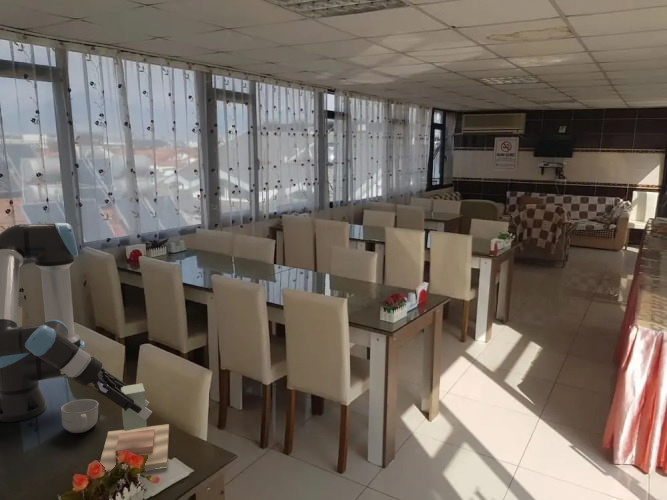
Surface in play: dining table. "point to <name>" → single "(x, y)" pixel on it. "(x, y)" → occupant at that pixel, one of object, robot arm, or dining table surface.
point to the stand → (138, 445)
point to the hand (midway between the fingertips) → (147, 410)
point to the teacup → (79, 415)
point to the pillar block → (129, 417)
